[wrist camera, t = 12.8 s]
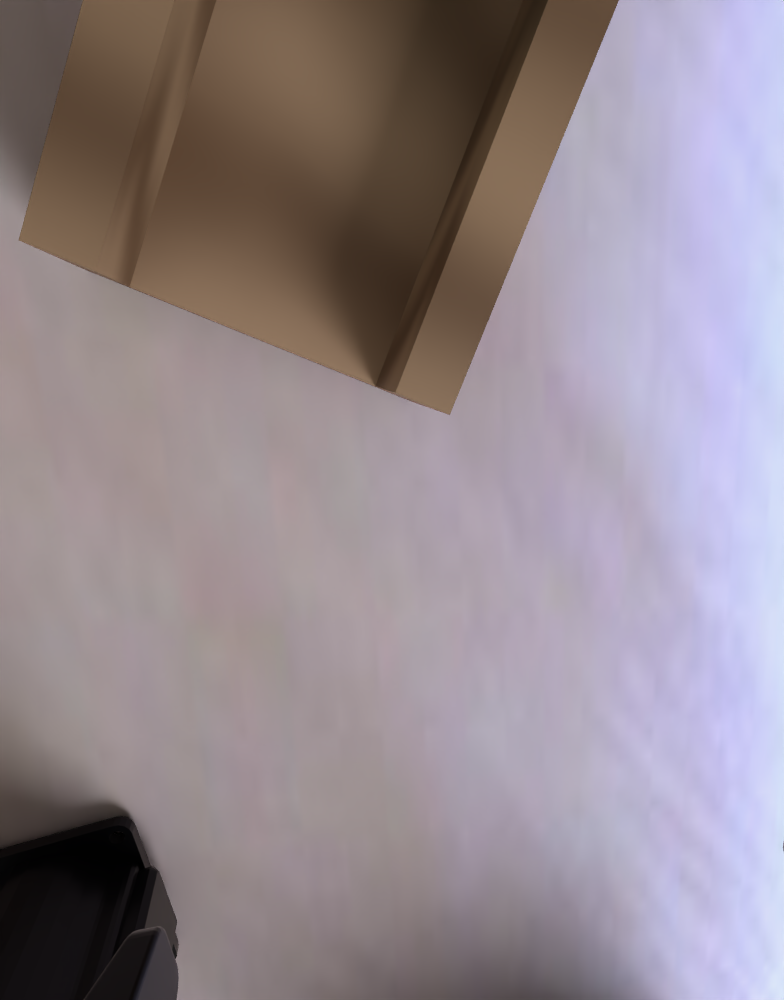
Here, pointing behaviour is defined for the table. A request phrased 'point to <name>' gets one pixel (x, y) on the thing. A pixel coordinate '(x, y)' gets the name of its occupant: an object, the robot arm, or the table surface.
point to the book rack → (315, 166)
